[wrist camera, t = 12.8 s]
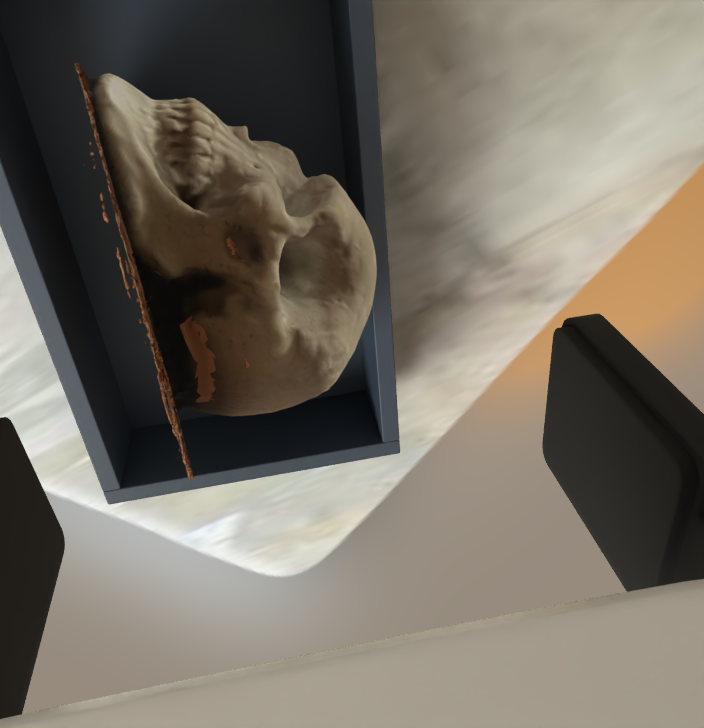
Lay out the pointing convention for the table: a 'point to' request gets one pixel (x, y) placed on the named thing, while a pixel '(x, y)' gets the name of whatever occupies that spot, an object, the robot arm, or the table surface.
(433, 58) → the table surface
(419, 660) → the robot arm
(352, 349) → the skull
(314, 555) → the table surface
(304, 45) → the box
